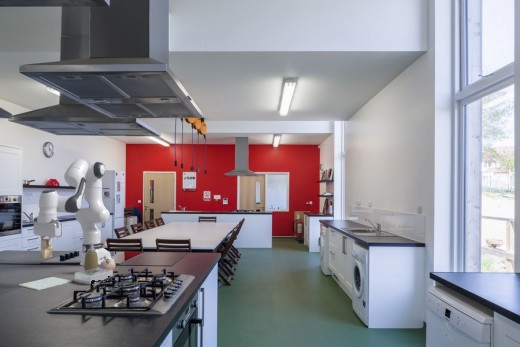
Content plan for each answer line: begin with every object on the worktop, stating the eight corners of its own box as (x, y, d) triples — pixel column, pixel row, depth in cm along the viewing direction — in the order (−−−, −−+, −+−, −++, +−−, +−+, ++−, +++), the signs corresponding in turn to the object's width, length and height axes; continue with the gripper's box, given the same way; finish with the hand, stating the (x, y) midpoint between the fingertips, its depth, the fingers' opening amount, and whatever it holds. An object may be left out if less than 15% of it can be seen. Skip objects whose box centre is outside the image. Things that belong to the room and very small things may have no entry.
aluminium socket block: (96, 275, 201) (97, 267, 202) (112, 278, 195) (112, 270, 195) (74, 281, 189) (74, 272, 189) (90, 284, 182) (90, 275, 183)
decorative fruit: (117, 274, 205) (118, 257, 206) (104, 276, 199) (104, 259, 200) (111, 271, 212) (111, 255, 212) (97, 274, 206) (98, 257, 206)
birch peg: (47, 256, 188) (48, 238, 188) (52, 257, 186) (52, 238, 187) (40, 257, 184) (41, 239, 185) (44, 258, 182) (45, 239, 183)
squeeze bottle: (101, 271, 212) (101, 242, 213) (90, 274, 205) (91, 244, 206) (91, 270, 215) (91, 242, 216) (80, 273, 207) (81, 244, 208)
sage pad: (52, 277, 197) (52, 276, 197) (71, 281, 188) (71, 280, 189) (18, 285, 181) (18, 284, 181) (38, 290, 173) (38, 289, 173)
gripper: (64, 219, 184) (63, 244, 184) (43, 218, 194) (42, 242, 193) (53, 220, 179) (52, 246, 178) (31, 218, 188) (30, 243, 188)
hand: (46, 244), depth 186 cm, fingers closed on birch peg, 4 cm apart
